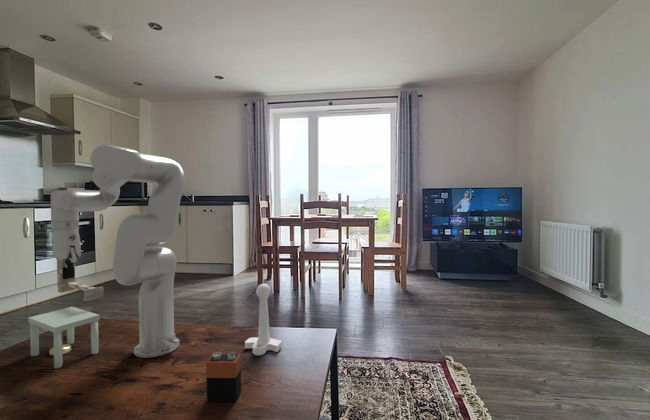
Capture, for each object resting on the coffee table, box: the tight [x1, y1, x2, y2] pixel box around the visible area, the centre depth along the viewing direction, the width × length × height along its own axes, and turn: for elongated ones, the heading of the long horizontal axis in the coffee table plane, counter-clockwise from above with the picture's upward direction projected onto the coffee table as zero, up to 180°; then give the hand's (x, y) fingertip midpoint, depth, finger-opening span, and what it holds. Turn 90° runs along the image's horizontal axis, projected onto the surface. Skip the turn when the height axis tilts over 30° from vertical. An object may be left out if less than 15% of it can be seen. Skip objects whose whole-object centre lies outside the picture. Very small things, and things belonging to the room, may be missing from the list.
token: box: [49, 343, 72, 357], centre depth 95 cm, size 5×5×2 cm
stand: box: [27, 306, 101, 369], centre depth 93 cm, size 17×11×12 cm, turn 62°
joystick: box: [244, 283, 283, 356], centre depth 94 cm, size 11×8×20 cm
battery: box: [205, 351, 242, 403], centre depth 71 cm, size 4×7×10 cm, turn 88°
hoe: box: [56, 256, 105, 302], centre depth 104 cm, size 21×5×14 cm, turn 61°
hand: (66, 277), depth 109 cm, fingers closed on hoe, 3 cm apart
